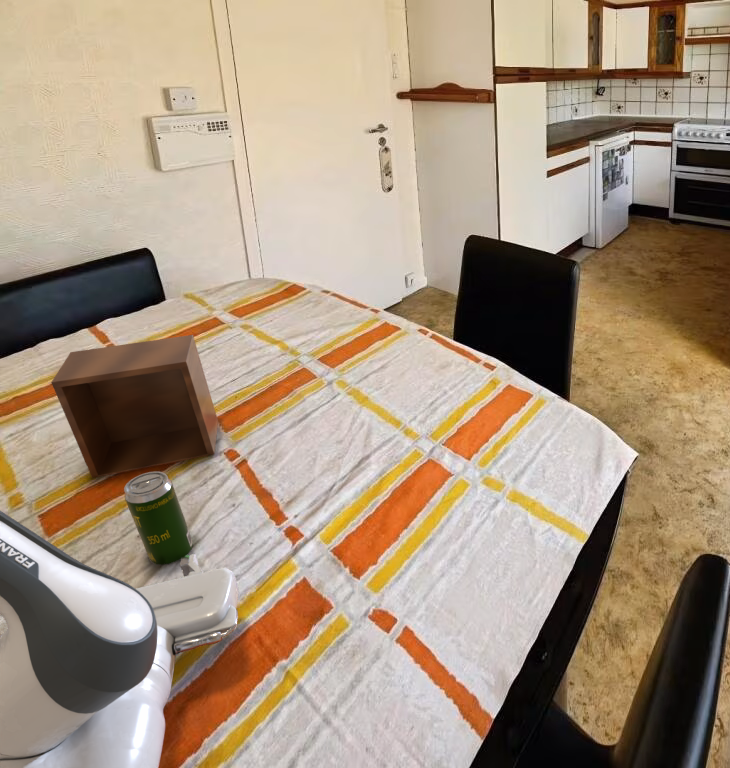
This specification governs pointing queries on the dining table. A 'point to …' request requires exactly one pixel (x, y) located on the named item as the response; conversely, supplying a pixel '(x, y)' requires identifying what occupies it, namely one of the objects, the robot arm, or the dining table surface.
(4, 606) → the robot arm
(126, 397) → the cupboard
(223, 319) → the dining table surface
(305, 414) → the dining table surface
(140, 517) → the beer can
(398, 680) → the dining table surface
